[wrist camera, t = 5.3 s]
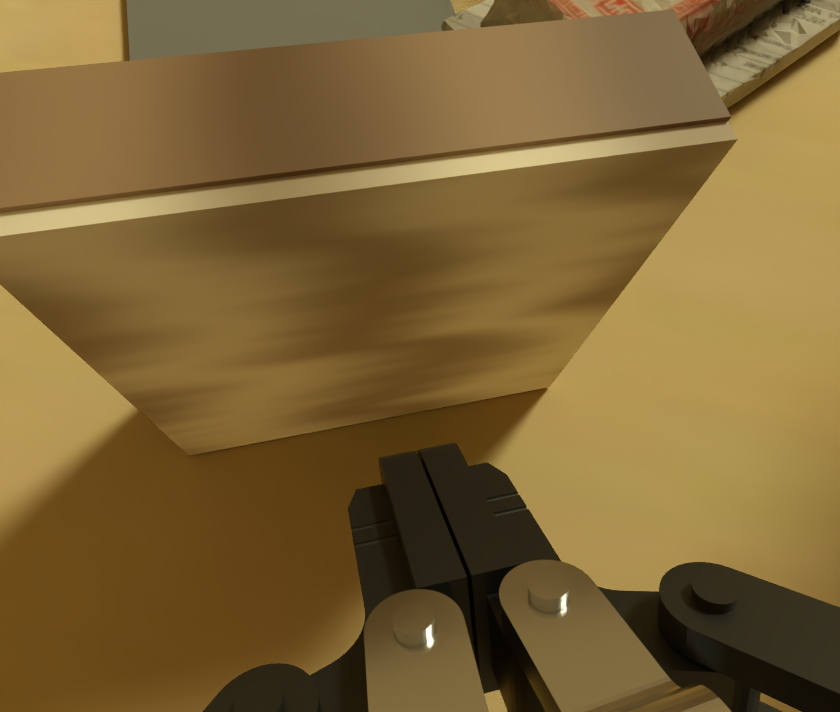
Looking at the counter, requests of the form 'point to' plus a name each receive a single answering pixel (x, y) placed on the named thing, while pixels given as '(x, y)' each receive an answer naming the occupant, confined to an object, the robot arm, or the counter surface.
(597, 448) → the counter surface
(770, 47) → the packaged product
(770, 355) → the counter surface
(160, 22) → the mat
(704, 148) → the walnut tile
